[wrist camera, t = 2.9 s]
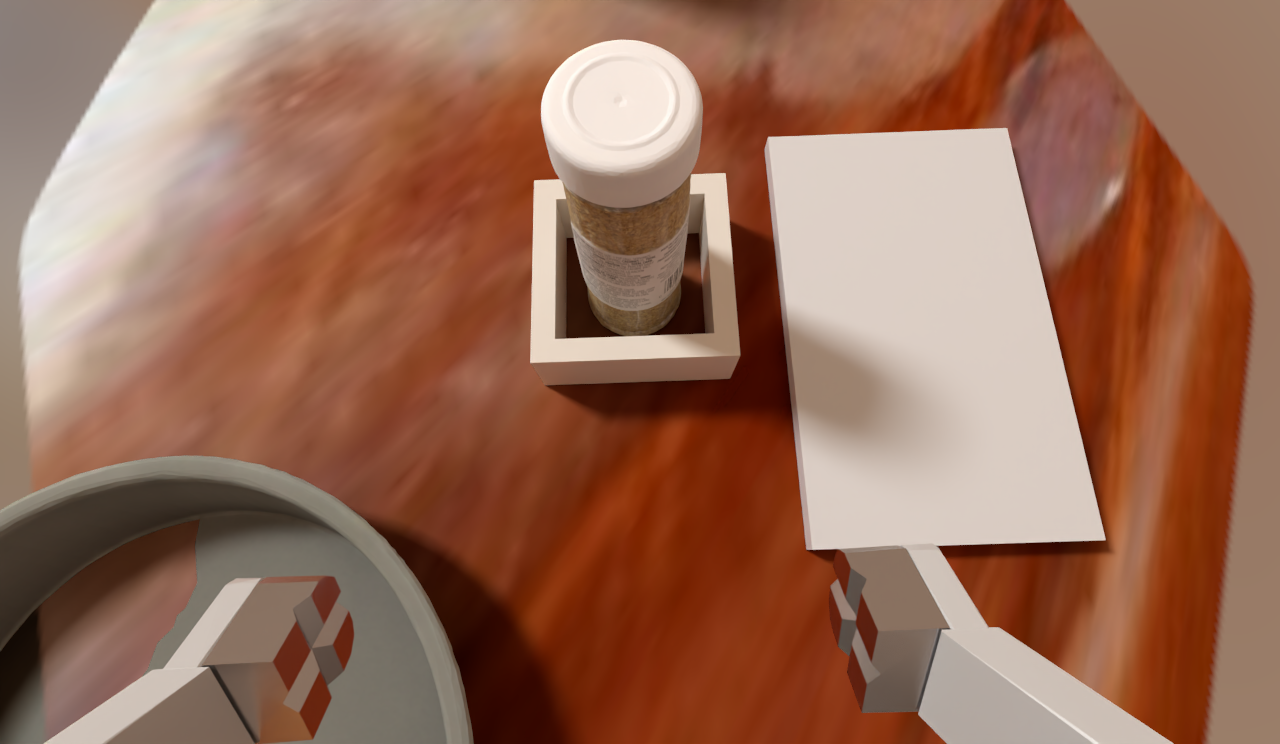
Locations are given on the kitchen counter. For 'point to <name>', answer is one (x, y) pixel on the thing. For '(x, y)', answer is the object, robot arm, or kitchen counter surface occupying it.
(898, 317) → the white board
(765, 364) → the kitchen counter surface
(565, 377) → the stand
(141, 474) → the cake pan
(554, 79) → the sprinkles bottle
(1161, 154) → the kitchen counter surface
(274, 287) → the kitchen counter surface
